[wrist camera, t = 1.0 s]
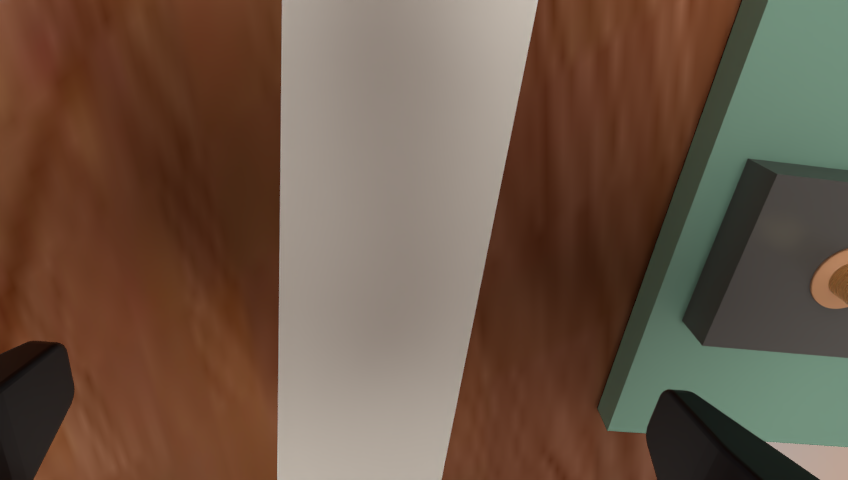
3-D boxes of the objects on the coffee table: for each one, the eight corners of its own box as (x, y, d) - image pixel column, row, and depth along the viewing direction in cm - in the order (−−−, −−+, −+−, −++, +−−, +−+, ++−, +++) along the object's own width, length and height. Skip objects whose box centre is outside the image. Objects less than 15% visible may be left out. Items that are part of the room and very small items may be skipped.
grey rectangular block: (502, -64, 12) (554, -83, 8) (427, 387, 18) (435, 510, 14) (324, -90, 12) (283, -125, 8) (306, 378, 18) (276, 502, 13)
